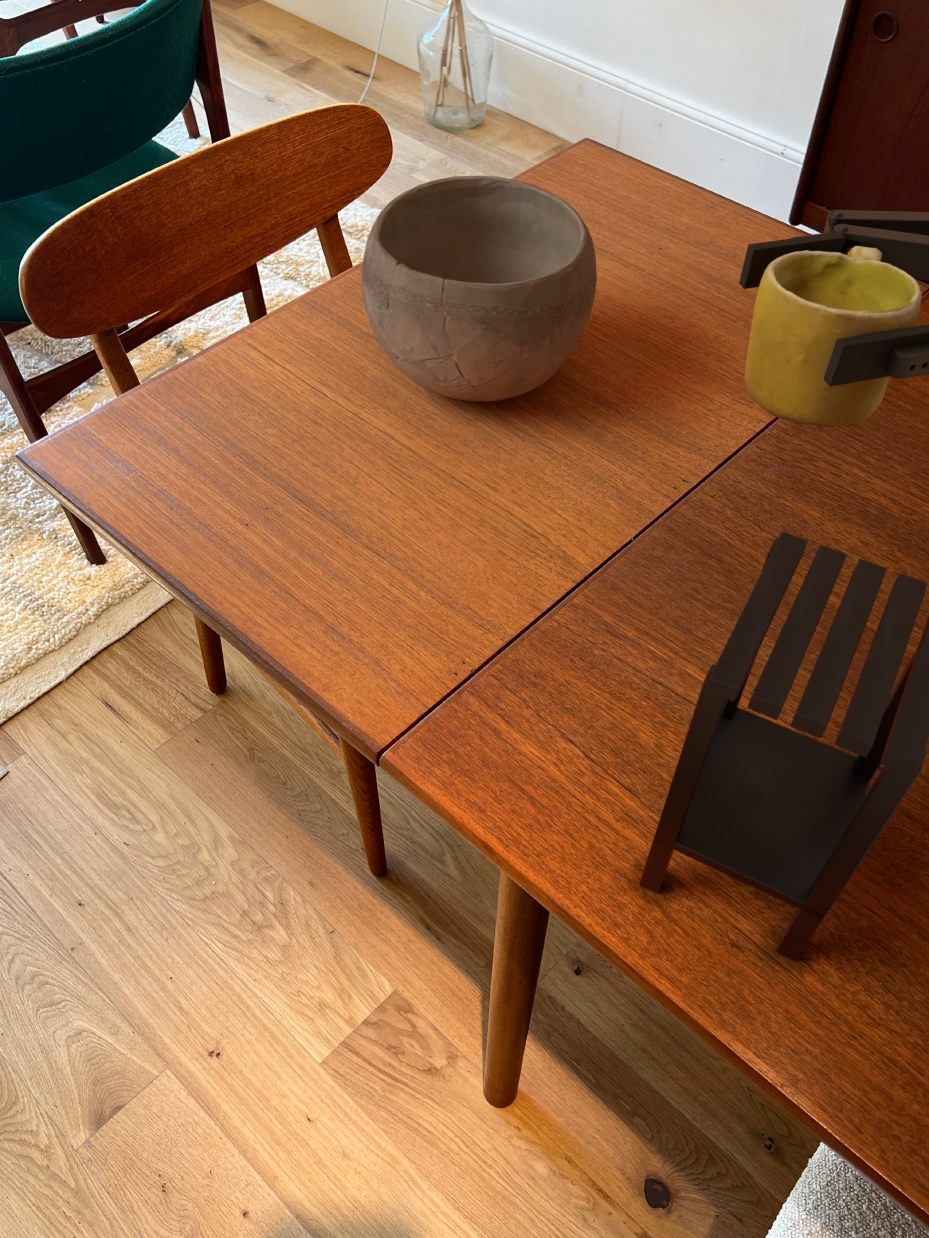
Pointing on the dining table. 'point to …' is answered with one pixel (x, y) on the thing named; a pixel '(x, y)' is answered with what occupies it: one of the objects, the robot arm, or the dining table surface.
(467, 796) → the dining table surface
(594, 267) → the bowl
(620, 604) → the dining table surface
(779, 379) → the mug
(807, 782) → the rack
